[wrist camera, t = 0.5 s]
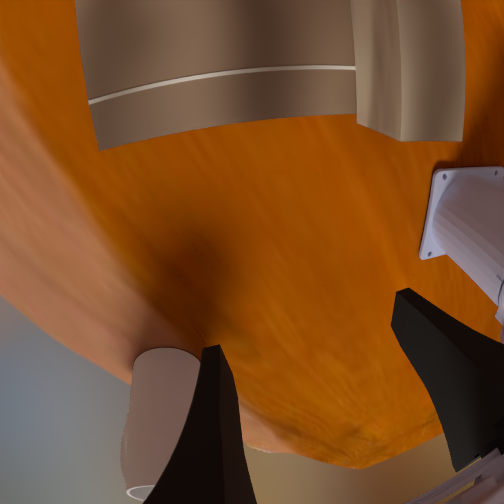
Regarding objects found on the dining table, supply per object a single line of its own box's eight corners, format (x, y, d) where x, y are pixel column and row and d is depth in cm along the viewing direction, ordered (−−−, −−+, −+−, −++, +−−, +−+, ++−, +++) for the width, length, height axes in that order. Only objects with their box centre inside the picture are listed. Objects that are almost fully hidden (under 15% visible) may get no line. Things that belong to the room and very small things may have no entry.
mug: (165, 332, 24) (169, 479, 14) (220, 367, 27) (242, 492, 17) (97, 379, 26) (87, 495, 16) (150, 406, 29) (154, 511, 19)
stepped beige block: (382, -54, 10) (444, -77, 5) (396, 116, 17) (461, 141, 12) (322, -66, 10) (374, -104, 5) (340, 116, 17) (400, 141, 12)
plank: (397, -19, 12) (420, -24, 10) (404, 107, 17) (427, 115, 15) (88, -7, 10) (73, -16, 8) (110, 140, 15) (99, 151, 13)
